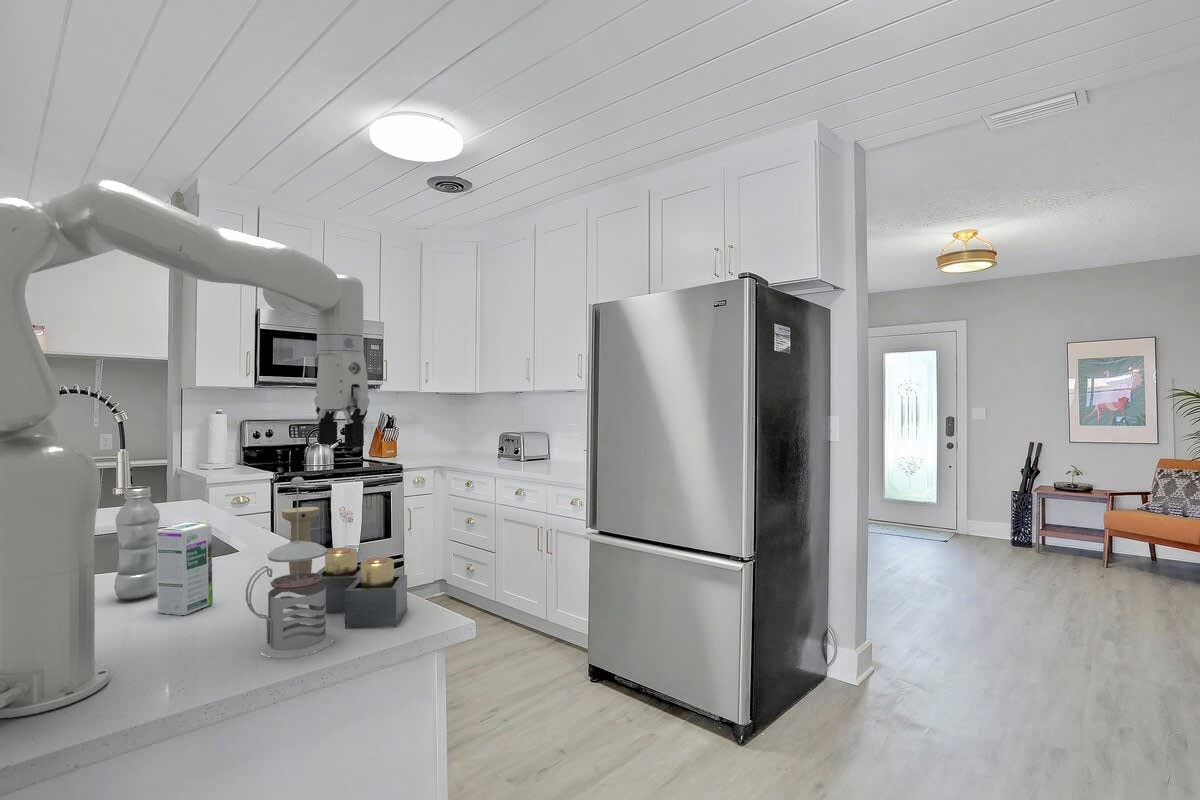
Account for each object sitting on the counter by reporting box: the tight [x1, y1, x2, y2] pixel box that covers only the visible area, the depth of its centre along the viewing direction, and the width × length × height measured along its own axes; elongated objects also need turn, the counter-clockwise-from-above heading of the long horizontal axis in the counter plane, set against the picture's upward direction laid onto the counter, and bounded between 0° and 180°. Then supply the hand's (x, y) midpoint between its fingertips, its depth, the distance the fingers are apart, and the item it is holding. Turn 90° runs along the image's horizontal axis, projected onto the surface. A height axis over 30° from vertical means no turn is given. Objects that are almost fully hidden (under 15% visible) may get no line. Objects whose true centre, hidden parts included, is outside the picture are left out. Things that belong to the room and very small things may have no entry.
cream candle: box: [324, 547, 358, 577], centre depth 108 cm, size 5×5×6 cm
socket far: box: [308, 564, 361, 614], centre depth 108 cm, size 8×8×6 cm
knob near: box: [360, 556, 395, 588], centre depth 102 cm, size 5×5×6 cm
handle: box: [281, 506, 320, 575], centre depth 118 cm, size 5×6×15 cm
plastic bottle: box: [113, 485, 161, 600], centre depth 112 cm, size 6×7×20 cm
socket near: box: [344, 574, 408, 629], centre depth 102 cm, size 8×8×6 cm
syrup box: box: [156, 521, 214, 616], centre depth 106 cm, size 6×6×14 cm
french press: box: [245, 476, 334, 659], centre depth 91 cm, size 10×12×25 cm
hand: (340, 445), depth 108 cm, fingers open, 8 cm apart
